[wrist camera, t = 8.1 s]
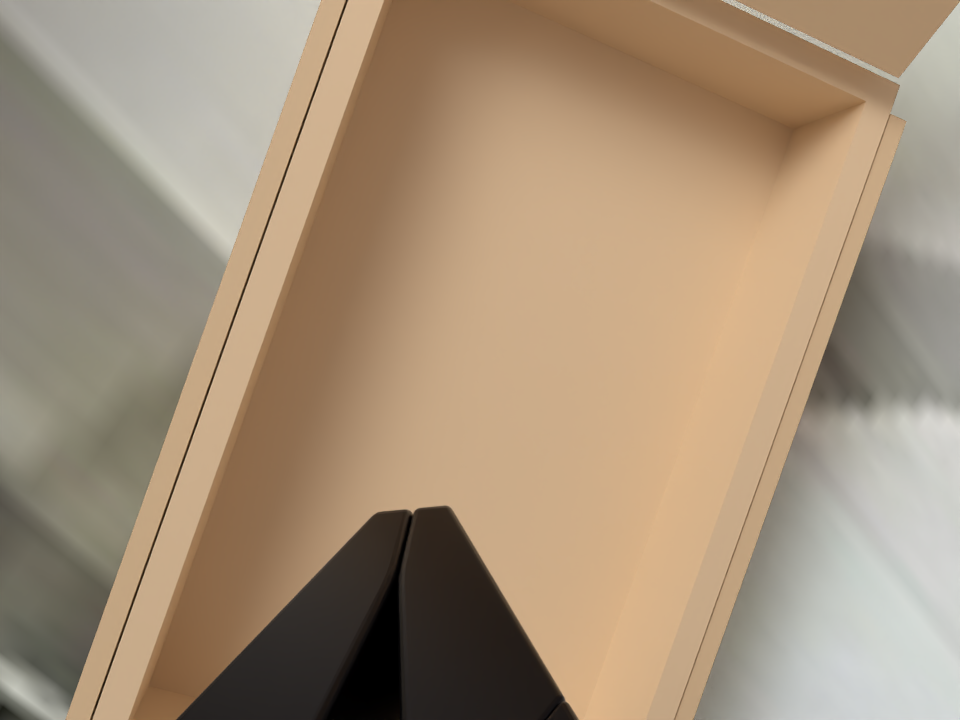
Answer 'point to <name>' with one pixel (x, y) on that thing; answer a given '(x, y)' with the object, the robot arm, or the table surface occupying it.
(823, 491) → the table surface
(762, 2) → the flap
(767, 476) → the carton
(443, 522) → the robot arm
